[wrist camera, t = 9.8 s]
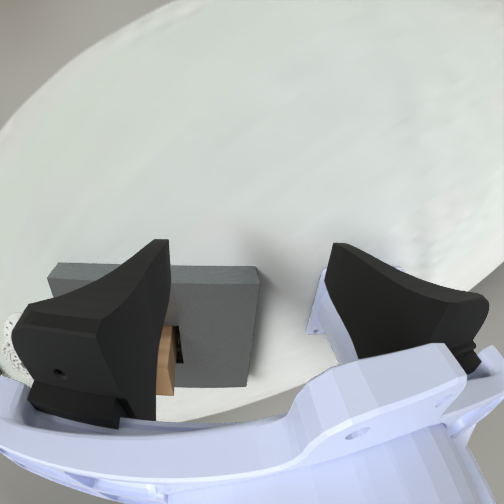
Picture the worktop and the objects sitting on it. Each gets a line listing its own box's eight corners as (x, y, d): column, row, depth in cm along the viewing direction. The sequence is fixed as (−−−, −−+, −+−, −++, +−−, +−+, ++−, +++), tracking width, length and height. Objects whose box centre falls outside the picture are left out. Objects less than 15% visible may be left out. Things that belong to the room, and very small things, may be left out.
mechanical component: (14, 349, 25) (71, 375, 28) (3, 371, 21) (63, 400, 24) (3, 299, 21) (68, 330, 24) (-14, 322, 17) (55, 359, 21)
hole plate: (255, 266, 23) (259, 283, 21) (243, 369, 30) (246, 386, 27) (58, 262, 20) (46, 277, 18) (95, 362, 27) (90, 378, 25)
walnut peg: (174, 308, 24) (167, 368, 18) (177, 338, 26) (173, 395, 20) (133, 306, 24) (116, 364, 17) (140, 336, 25) (128, 392, 19)
